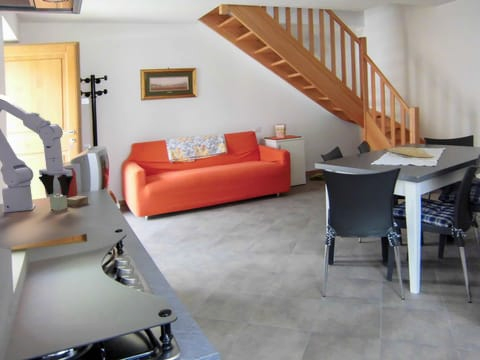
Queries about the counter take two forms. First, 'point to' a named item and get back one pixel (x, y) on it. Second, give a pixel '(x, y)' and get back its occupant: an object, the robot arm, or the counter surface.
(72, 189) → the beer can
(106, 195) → the counter surface
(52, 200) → the sage brick
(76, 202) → the walnut block
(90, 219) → the counter surface
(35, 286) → the counter surface
